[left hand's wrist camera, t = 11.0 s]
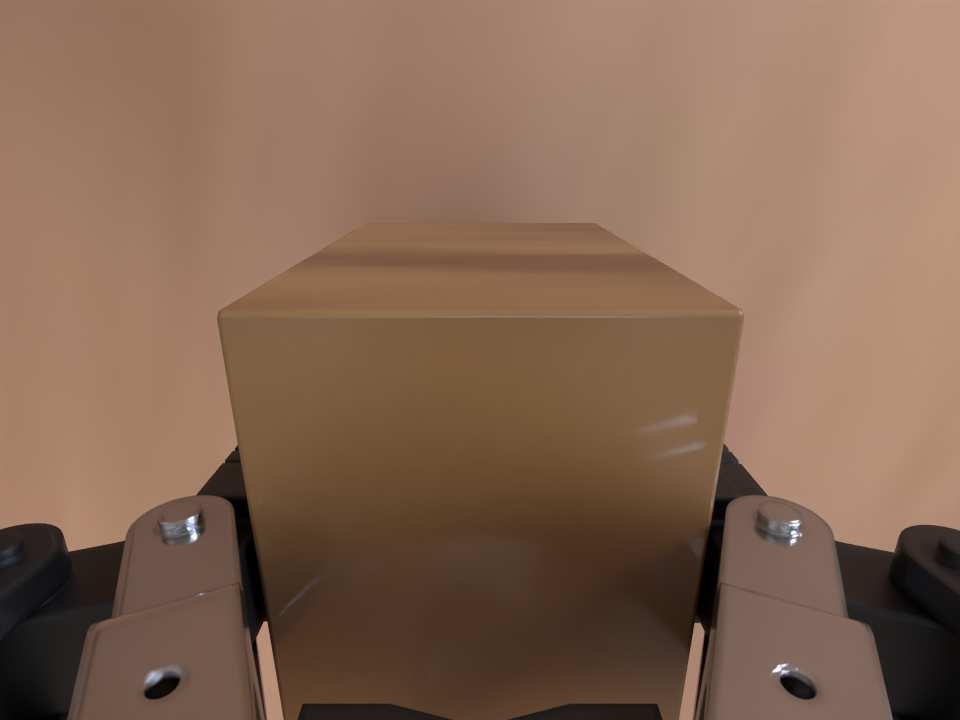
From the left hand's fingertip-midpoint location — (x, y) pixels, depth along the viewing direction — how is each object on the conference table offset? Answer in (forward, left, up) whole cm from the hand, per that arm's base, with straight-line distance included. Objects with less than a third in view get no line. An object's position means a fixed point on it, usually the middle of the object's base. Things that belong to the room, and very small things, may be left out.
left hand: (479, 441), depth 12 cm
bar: (+6, -5, -4) cm, 9 cm away
